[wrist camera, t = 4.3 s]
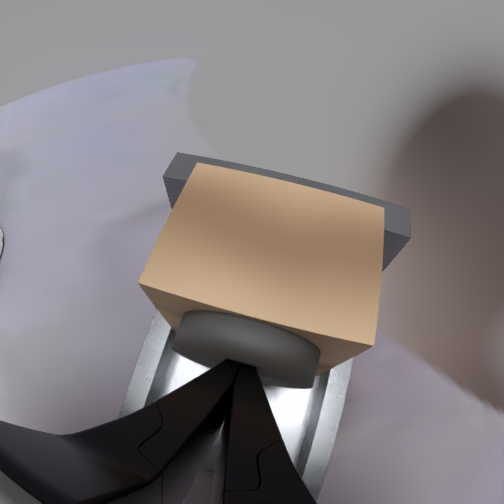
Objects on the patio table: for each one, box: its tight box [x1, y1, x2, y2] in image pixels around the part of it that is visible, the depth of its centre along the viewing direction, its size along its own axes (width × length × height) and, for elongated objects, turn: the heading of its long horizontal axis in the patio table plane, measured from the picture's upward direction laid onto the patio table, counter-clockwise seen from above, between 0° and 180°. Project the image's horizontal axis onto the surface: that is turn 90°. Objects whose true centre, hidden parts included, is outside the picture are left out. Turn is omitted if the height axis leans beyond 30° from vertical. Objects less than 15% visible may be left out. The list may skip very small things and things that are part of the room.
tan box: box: [138, 162, 384, 389], centre depth 13 cm, size 6×7×8 cm
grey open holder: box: [119, 152, 411, 501], centre depth 13 cm, size 13×10×8 cm
